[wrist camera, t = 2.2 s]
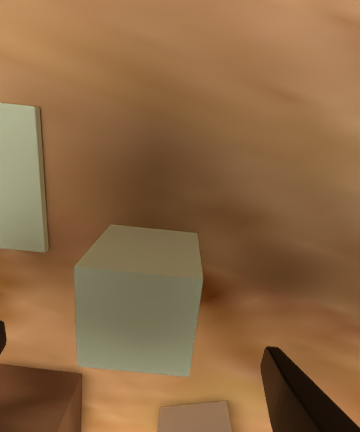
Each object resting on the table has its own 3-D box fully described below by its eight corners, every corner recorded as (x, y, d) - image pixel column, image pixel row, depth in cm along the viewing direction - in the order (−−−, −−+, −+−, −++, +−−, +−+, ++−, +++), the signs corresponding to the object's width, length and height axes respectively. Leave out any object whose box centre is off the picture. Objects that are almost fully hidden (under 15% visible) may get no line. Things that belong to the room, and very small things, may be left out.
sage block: (197, 232, 13) (203, 279, 9) (188, 305, 14) (189, 376, 10) (110, 223, 13) (73, 266, 9) (109, 297, 14) (77, 366, 10)
